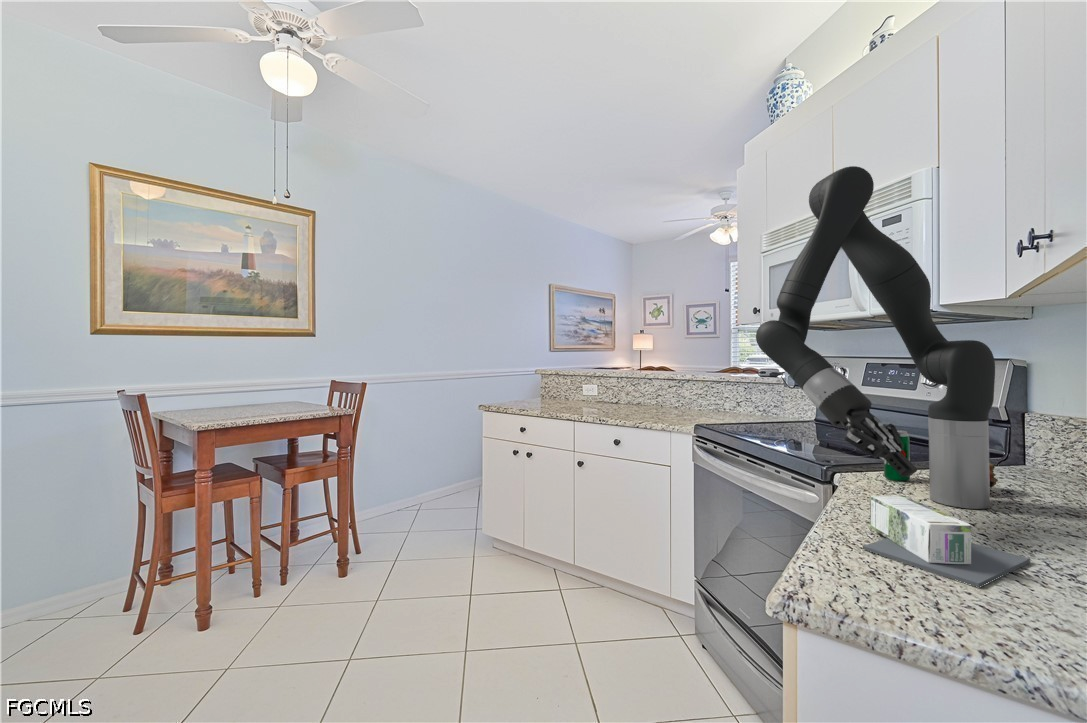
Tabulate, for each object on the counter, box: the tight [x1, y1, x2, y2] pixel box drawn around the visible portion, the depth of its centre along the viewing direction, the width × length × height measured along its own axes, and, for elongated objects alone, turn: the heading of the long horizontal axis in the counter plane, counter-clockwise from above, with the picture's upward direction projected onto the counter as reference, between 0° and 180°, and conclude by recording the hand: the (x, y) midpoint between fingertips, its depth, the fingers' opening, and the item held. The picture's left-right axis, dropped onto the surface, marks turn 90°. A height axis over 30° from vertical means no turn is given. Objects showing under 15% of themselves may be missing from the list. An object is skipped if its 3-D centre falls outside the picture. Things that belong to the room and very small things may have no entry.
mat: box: [862, 537, 1031, 588], centre depth 70 cm, size 16×14×1 cm
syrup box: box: [869, 495, 972, 564], centre depth 72 cm, size 6×6×14 cm
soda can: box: [883, 429, 911, 482], centre depth 114 cm, size 5×5×12 cm
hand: (910, 474), depth 78 cm, fingers closed
